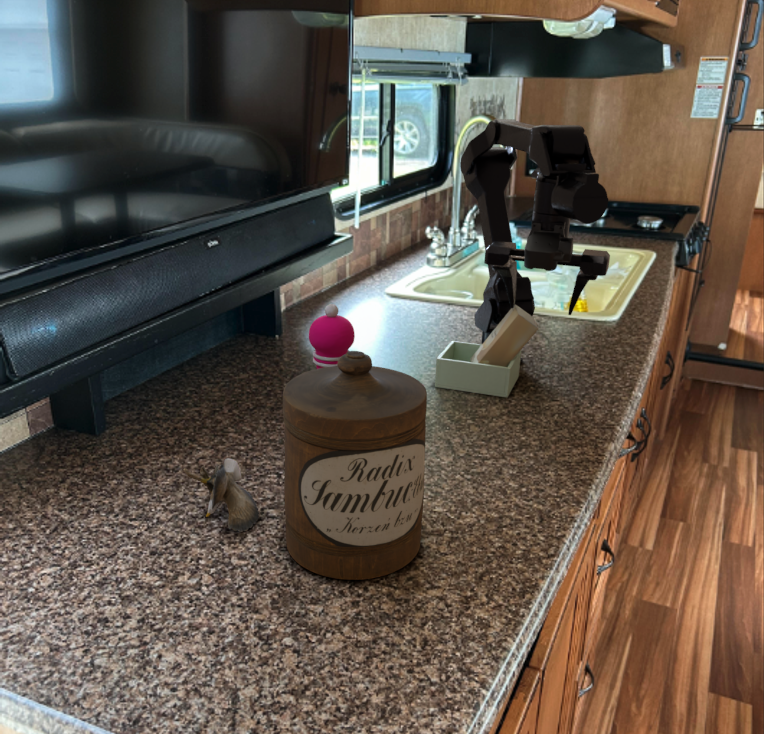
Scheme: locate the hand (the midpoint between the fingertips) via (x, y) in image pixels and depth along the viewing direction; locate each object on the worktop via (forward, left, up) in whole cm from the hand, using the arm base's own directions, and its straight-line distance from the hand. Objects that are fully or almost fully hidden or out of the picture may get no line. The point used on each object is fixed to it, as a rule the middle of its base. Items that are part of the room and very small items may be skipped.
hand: (540, 311), depth 124 cm
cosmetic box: (-7, -6, -11) cm, 15 cm away
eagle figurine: (+4, -61, -13) cm, 63 cm away
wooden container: (+18, -53, -13) cm, 58 cm away
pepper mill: (-3, -40, -13) cm, 42 cm away
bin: (-7, -6, -13) cm, 16 cm away
